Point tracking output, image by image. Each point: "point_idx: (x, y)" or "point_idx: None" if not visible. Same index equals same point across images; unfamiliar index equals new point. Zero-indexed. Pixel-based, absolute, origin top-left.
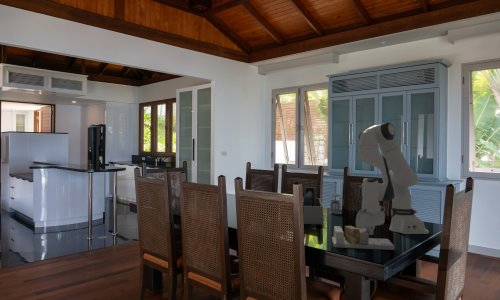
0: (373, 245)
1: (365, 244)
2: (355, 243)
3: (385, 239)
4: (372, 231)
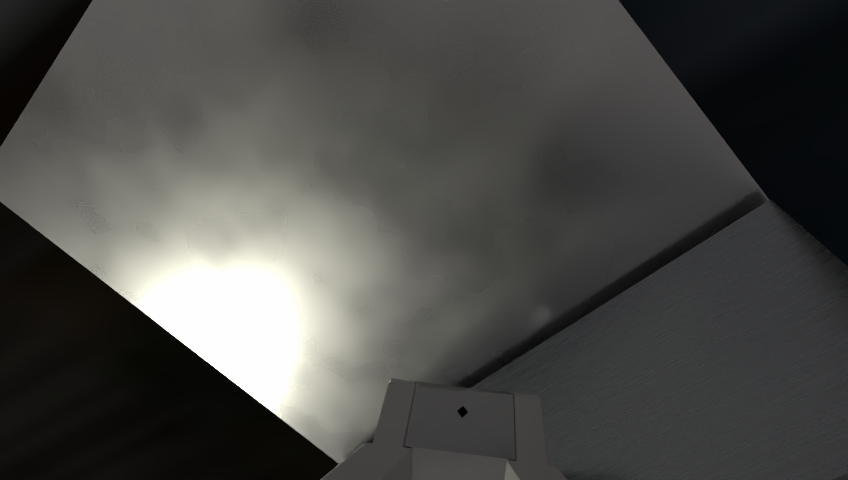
0: (698, 107)
1: None
2: None
3: (55, 194)
4: (411, 444)
